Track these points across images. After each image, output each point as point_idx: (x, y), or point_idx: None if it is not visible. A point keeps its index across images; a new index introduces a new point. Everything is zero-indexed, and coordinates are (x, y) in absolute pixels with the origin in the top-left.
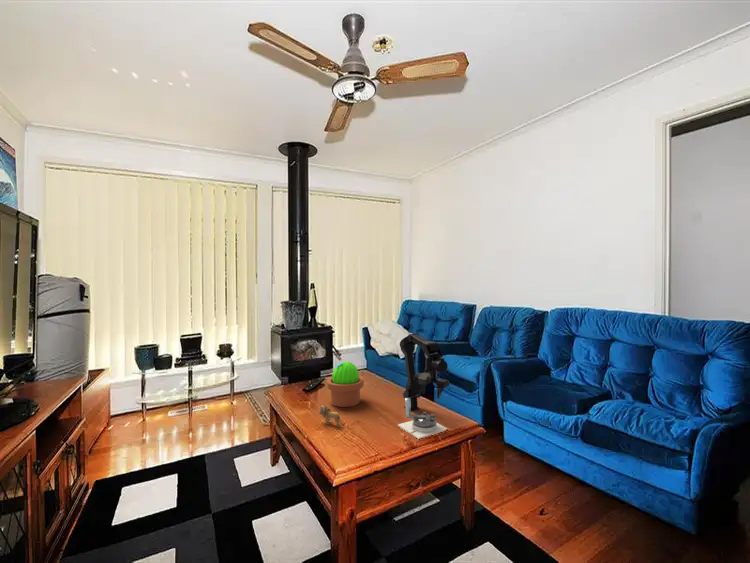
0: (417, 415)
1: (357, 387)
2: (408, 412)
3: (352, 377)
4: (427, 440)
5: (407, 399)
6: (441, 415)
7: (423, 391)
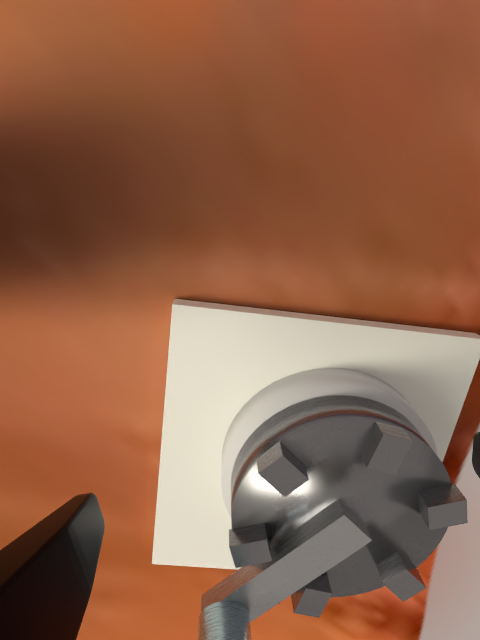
0: (286, 567)
1: None
2: None
3: None
4: None
5: None
6: (214, 100)
7: (86, 586)
